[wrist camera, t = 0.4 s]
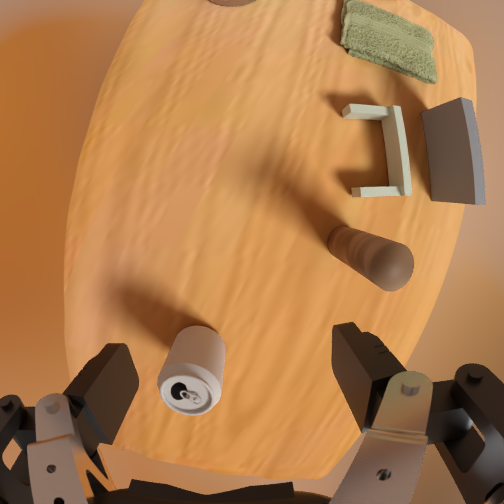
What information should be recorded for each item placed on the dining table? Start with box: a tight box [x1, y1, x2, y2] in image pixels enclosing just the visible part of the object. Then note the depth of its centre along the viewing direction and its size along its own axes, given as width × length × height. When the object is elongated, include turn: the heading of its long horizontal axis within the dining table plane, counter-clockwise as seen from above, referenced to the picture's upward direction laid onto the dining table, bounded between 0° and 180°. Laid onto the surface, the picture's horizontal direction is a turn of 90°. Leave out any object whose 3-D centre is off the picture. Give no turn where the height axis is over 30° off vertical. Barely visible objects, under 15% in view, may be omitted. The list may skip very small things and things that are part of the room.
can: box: [157, 325, 226, 415], centre depth 32 cm, size 8×8×12 cm
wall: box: [421, 97, 486, 205], centre depth 29 cm, size 14×2×10 cm, turn 6°
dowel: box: [328, 226, 414, 291], centre depth 29 cm, size 4×4×14 cm
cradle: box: [342, 104, 412, 197], centre depth 31 cm, size 12×7×4 cm, turn 6°
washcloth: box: [340, 0, 437, 84], centre depth 29 cm, size 13×18×3 cm
